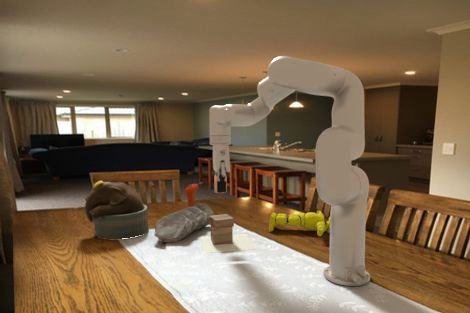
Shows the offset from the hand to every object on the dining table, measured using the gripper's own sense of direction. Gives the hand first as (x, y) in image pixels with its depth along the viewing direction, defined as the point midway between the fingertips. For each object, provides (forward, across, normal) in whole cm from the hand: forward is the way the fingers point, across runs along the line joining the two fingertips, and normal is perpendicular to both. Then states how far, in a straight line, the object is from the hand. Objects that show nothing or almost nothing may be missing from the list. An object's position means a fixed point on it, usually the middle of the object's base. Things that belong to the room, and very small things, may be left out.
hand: (220, 190), depth 133 cm
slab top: (+13, 0, 0) cm, 13 cm away
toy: (+20, +8, -37) cm, 43 cm away
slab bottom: (+19, 0, 0) cm, 19 cm away
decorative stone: (+20, +15, +13) cm, 28 cm away
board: (+20, -2, -2) cm, 20 cm away
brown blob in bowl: (+20, +22, +39) cm, 49 cm away
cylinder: (+1, 0, 0) cm, 1 cm away
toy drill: (+20, +52, +5) cm, 56 cm away
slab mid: (+16, 0, 0) cm, 16 cm away
